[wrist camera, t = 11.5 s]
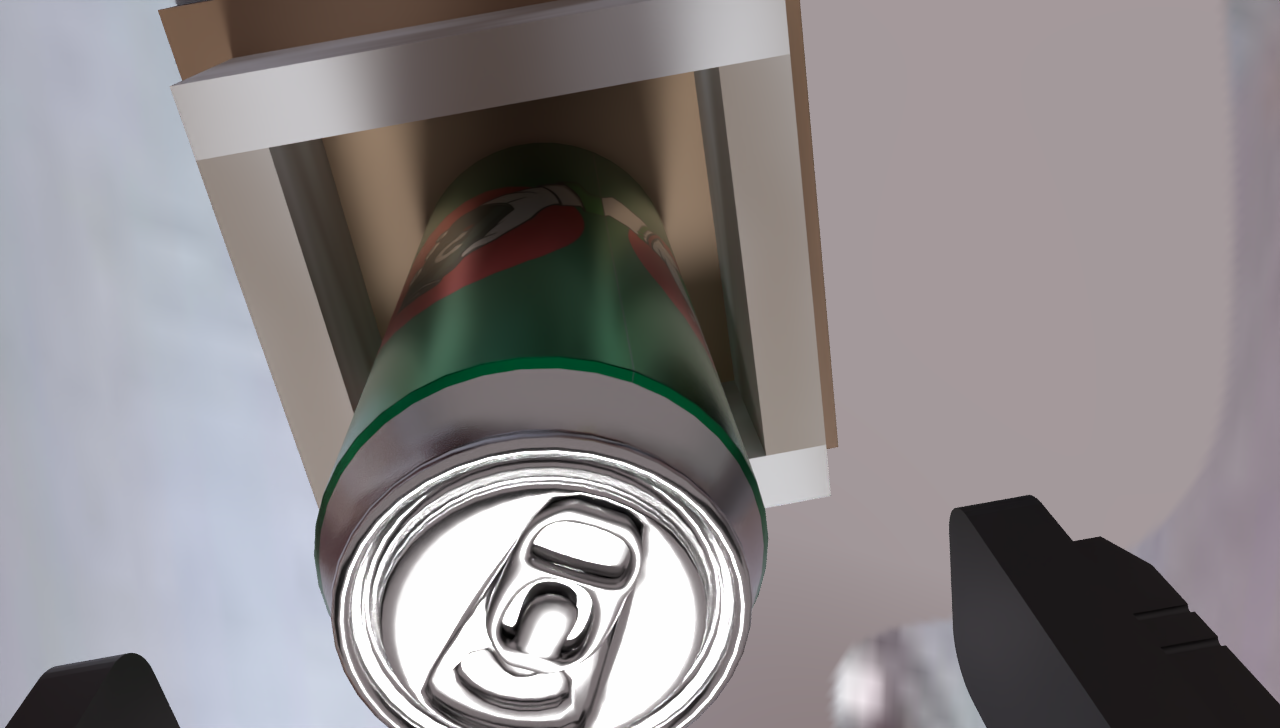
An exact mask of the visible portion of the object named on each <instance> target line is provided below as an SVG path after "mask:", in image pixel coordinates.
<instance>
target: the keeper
mask: <svg viewBox="0 0 1280 728" xmlns="http://www.w3.org/2000/svg"><path fill="white" fill-rule="evenodd" d="M158 12H159V15H160V18H161V21H162V23H163V26H164V29H165V32H166V35H167V38H168V41H169V44H170V47H171V49H172V52H173V55H174V58H175V61H176V64H177V67H178V70H179V72H180V75H181V78H182V81H181V82H178V83H176V84H174V85H172V86H170V88H171V91H172V94H173V97H174V100H175V103H176V105H177V108H178V111H179V114H180V117H181V120H182V122H183V125H184V128H185V131H186V134H187V137H188V139H189V142H190V145H191V148H192V151H193V154H194V156H195V159H196V162H197V165H198V168H199V171H200V173H201V176H202V179H203V182H204V185H205V188H206V190H207V193H208V196H209V199H210V202H211V205H212V207H213V210H214V213H215V216H216V219H217V222H218V224H219V227H220V230H221V233H222V236H223V239H224V241H225V244H226V247H227V250H228V253H229V256H230V258H231V261H232V264H233V267H234V270H235V273H236V275H237V278H238V281H239V284H240V287H241V290H242V292H243V295H244V298H245V301H246V304H247V307H248V309H249V312H250V315H251V318H252V321H253V324H254V326H255V329H256V332H257V335H258V338H259V341H260V343H261V346H262V349H263V352H264V355H265V358H266V360H267V363H268V366H269V369H270V372H271V375H272V377H273V380H274V383H275V386H276V389H277V392H278V394H279V397H280V400H281V403H282V406H283V409H284V411H285V414H286V417H287V420H288V423H289V426H290V428H291V431H292V434H293V437H294V440H295V443H296V445H297V448H298V451H299V454H300V457H301V460H302V462H303V465H304V468H305V471H306V474H307V477H308V479H309V482H310V485H311V488H312V491H313V494H314V496H315V499H316V502H317V505H318V508H319V509H320V505H321V501H322V497H323V493H324V491H325V488H326V485H327V483H328V480H329V478H330V475H331V472H332V470H333V467H334V465H335V462H336V460H337V457H338V454H339V452H340V449H341V447H342V444H343V441H344V439H345V436H346V434H347V431H348V428H349V426H350V423H351V421H352V418H353V416H354V413H355V410H356V408H357V405H358V403H359V400H360V397H361V395H362V392H363V390H364V387H365V385H366V382H367V379H368V377H369V374H370V372H371V369H372V366H373V364H374V361H375V359H376V356H377V353H378V351H379V348H380V346H381V343H382V341H383V338H384V335H385V333H386V330H387V328H388V325H389V322H390V320H391V317H392V315H393V312H394V309H395V307H396V304H397V302H398V299H399V297H400V294H401V291H402V289H403V286H404V284H405V281H406V278H407V276H408V273H409V271H410V268H411V265H412V263H413V260H414V258H415V255H416V253H417V250H418V247H419V245H420V242H421V240H422V237H423V234H424V232H425V229H426V227H427V224H428V222H429V219H430V217H431V215H432V213H433V210H434V208H435V206H436V204H437V202H438V201H439V199H440V198H441V196H442V195H443V193H444V192H445V190H446V189H447V187H448V186H449V185H450V184H451V183H452V182H453V181H454V180H455V179H456V178H457V177H458V176H459V175H460V174H461V173H462V172H463V171H465V170H466V169H467V168H469V167H470V166H471V165H473V164H474V163H475V162H477V161H479V160H481V159H483V158H485V157H486V156H488V155H490V154H492V153H494V152H497V151H500V150H503V149H506V148H509V147H512V146H517V145H523V144H529V143H559V144H566V145H572V146H576V147H580V148H583V149H586V150H589V151H592V152H595V153H596V154H598V155H600V156H602V157H604V158H606V159H608V160H610V161H612V162H613V163H615V164H616V165H618V166H619V167H620V168H622V169H623V170H625V171H626V172H627V173H628V174H629V175H630V176H631V177H632V178H633V179H634V180H635V181H636V182H637V183H638V184H639V185H640V186H641V187H642V188H643V190H644V191H645V192H646V194H647V195H648V197H649V198H650V199H651V201H652V202H653V204H654V206H655V208H656V210H657V212H658V214H659V216H660V218H661V221H662V224H663V226H664V229H665V232H666V234H667V237H668V240H669V243H670V245H671V248H672V251H673V254H674V256H675V259H676V262H677V265H678V267H679V270H680V273H681V275H682V278H683V281H684V284H685V286H686V289H687V292H688V295H689V297H690V300H691V303H692V305H693V308H694V311H695V314H696V316H697V319H698V322H699V325H700V327H701V330H702V333H703V336H704V338H705V341H706V344H707V346H708V349H709V352H710V355H711V357H712V360H713V363H714V366H715V368H716V371H717V374H718V376H719V379H720V382H721V385H722V387H723V390H724V393H725V396H726V398H727V401H728V404H729V407H730V409H731V412H732V415H733V417H734V420H735V423H736V426H737V428H738V431H739V434H740V437H741V439H742V442H743V445H744V448H745V450H746V453H747V456H748V458H749V461H750V464H751V467H752V469H753V472H754V475H755V478H756V480H757V484H758V487H759V490H760V494H761V497H762V500H763V503H764V507H765V508H769V507H774V506H779V505H784V504H790V503H795V502H800V501H806V500H811V499H817V498H822V497H827V496H831V493H830V482H829V471H828V460H827V450H826V449H830V448H835V447H838V438H837V427H836V415H835V404H834V392H833V381H832V369H831V357H830V346H829V335H828V322H827V311H826V299H825V287H824V276H823V265H822V252H821V241H820V229H819V218H818V208H817V207H818V206H817V196H816V195H817V194H816V183H815V172H814V160H813V148H812V136H811V125H810V113H809V102H808V90H807V79H806V67H805V55H804V44H803V32H802V22H801V9H800V0H207V1H202V2H196V3H190V4H185V5H179V6H174V7H170V8H166V9H161V10H158Z"/></svg>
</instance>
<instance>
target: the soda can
mask: <svg viewBox="0 0 1280 728" xmlns="http://www.w3.org/2000/svg"><path fill="white" fill-rule="evenodd" d="M767 547H768V531H767V522H766V513H765V507H764V503H763V500H762V497H761V494H760V490H759V487H758V484H757V480H756V478H755V475H754V472H753V469H752V467H751V464H750V461H749V458H748V456H747V453H746V450H745V448H744V445H743V442H742V439H741V437H740V434H739V431H738V428H737V426H736V423H735V420H734V417H733V415H732V412H731V409H730V407H729V404H728V401H727V398H726V396H725V393H724V390H723V387H722V385H721V382H720V379H719V376H718V374H717V371H716V368H715V366H714V363H713V360H712V357H711V355H710V352H709V349H708V346H707V344H706V341H705V338H704V336H703V333H702V330H701V327H700V325H699V322H698V319H697V316H696V314H695V311H694V308H693V305H692V303H691V300H690V297H689V295H688V292H687V289H686V286H685V284H684V281H683V278H682V275H681V273H680V270H679V267H678V265H677V262H676V259H675V256H674V254H673V251H672V248H671V245H670V243H669V240H668V237H667V234H666V232H665V229H664V226H663V224H662V221H661V218H660V216H659V214H658V212H657V210H656V208H655V206H654V204H653V202H652V201H651V199H650V198H649V197H648V195H647V194H646V192H645V191H644V190H643V188H642V187H641V186H640V185H639V184H638V183H637V182H636V181H635V180H634V179H633V178H632V177H631V176H630V175H629V174H628V173H627V172H626V171H625V170H623V169H622V168H620V167H619V166H618V165H616V164H615V163H613V162H612V161H610V160H608V159H606V158H604V157H602V156H600V155H598V154H596V153H595V152H592V151H589V150H586V149H583V148H580V147H576V146H572V145H566V144H559V143H529V144H523V145H517V146H512V147H509V148H506V149H503V150H500V151H497V152H494V153H492V154H490V155H488V156H486V157H485V158H483V159H481V160H479V161H477V162H475V163H474V164H473V165H471V166H470V167H469V168H467V169H466V170H465V171H463V172H462V173H461V174H460V175H459V176H458V177H457V178H456V179H455V180H454V181H453V182H452V183H451V184H450V185H449V186H448V187H447V189H446V190H445V192H444V193H443V195H442V196H441V198H440V199H439V201H438V202H437V204H436V206H435V208H434V210H433V213H432V215H431V217H430V219H429V222H428V224H427V227H426V229H425V232H424V234H423V237H422V240H421V242H420V245H419V247H418V250H417V253H416V255H415V258H414V260H413V263H412V265H411V268H410V271H409V273H408V276H407V278H406V281H405V284H404V286H403V289H402V291H401V294H400V297H399V299H398V302H397V304H396V307H395V309H394V312H393V315H392V317H391V320H390V322H389V325H388V328H387V330H386V333H385V335H384V338H383V341H382V343H381V346H380V348H379V351H378V353H377V356H376V359H375V361H374V364H373V366H372V369H371V372H370V374H369V377H368V379H367V382H366V385H365V387H364V390H363V392H362V395H361V397H360V400H359V403H358V405H357V408H356V410H355V413H354V416H353V418H352V421H351V423H350V426H349V428H348V431H347V434H346V436H345V439H344V441H343V444H342V447H341V449H340V452H339V454H338V457H337V460H336V462H335V465H334V467H333V470H332V472H331V475H330V478H329V480H328V483H327V485H326V488H325V491H324V493H323V497H322V501H321V505H320V509H319V513H318V517H317V521H316V528H315V549H314V557H315V564H316V571H317V578H318V584H319V588H320V590H321V593H322V596H323V599H324V602H325V605H326V608H327V611H328V613H329V615H330V617H331V621H332V628H333V635H334V642H335V647H336V650H337V653H338V656H339V659H340V662H341V664H342V667H343V670H344V672H345V674H346V676H347V678H348V679H349V681H350V683H351V684H352V686H353V688H354V690H355V691H356V693H357V695H358V696H359V697H360V698H361V700H362V701H363V702H364V703H365V704H366V706H367V707H368V708H369V709H370V710H371V712H372V713H373V714H374V715H375V716H376V717H377V718H378V719H379V720H380V721H382V722H383V723H384V724H385V725H386V726H387V727H389V728H686V727H688V726H689V725H690V724H692V723H693V722H694V721H695V720H697V719H698V718H699V717H700V716H701V714H703V713H704V712H705V710H706V709H707V708H708V707H709V706H710V705H711V704H712V703H713V702H714V701H715V700H716V699H717V698H718V696H719V695H720V693H721V692H722V690H723V689H724V688H725V686H726V684H727V683H728V682H729V680H730V679H731V677H732V676H733V673H734V671H735V669H736V667H737V665H738V662H739V660H740V659H741V657H742V654H743V652H744V648H745V645H746V641H747V637H748V633H749V630H750V625H751V615H752V608H753V606H754V604H755V602H756V599H757V597H758V595H759V591H760V587H761V584H762V580H763V576H764V573H765V569H766V560H767Z"/></svg>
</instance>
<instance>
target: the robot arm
mask: <svg viewBox="0 0 1280 728" xmlns="http://www.w3.org/2000/svg"><path fill="white" fill-rule="evenodd" d="M949 537H950V562H951V587H952V612H953V633H954V642H955V648H956V653H957V658H958V662H959V666H960V669H961V673H962V676H963V679H964V682H965V685H966V687H967V690H968V692H969V694H970V697H971V699H972V701H973V703H974V705H975V706H976V708H977V710H978V712H979V714H980V716H981V718H982V720H983V722H984V724H985V725H986V727H987V728H1280V704H1279V703H1278V702H1277V701H1276V700H1275V699H1274V698H1273V696H1272V695H1271V694H1270V693H1269V692H1268V691H1267V690H1266V689H1265V688H1264V687H1263V686H1262V684H1261V683H1260V682H1259V681H1258V680H1257V679H1256V678H1255V677H1254V676H1253V675H1252V674H1251V672H1250V671H1249V670H1248V669H1247V668H1246V667H1245V666H1244V665H1243V664H1242V663H1241V662H1240V660H1239V659H1238V658H1237V657H1236V656H1235V655H1234V654H1233V653H1232V652H1231V651H1230V650H1229V648H1228V647H1227V646H1226V645H1225V646H1221V645H1220V644H1219V641H1218V636H1217V635H1216V634H1215V633H1214V632H1213V631H1212V630H1211V629H1210V628H1209V627H1208V626H1207V624H1206V623H1205V622H1204V621H1203V620H1202V619H1201V618H1200V617H1199V616H1198V615H1197V614H1196V612H1190V611H1189V609H1188V604H1187V603H1186V602H1185V600H1184V599H1183V598H1182V597H1181V596H1180V595H1179V594H1178V593H1177V592H1176V591H1175V590H1174V588H1173V587H1172V586H1171V585H1170V584H1169V583H1168V582H1167V581H1166V580H1165V579H1164V578H1163V576H1162V575H1161V574H1160V573H1159V572H1158V571H1157V570H1156V569H1155V568H1154V567H1153V566H1152V565H1151V564H1149V563H1147V562H1146V561H1144V560H1142V559H1140V558H1138V557H1137V556H1135V555H1133V554H1131V553H1129V552H1128V551H1126V550H1124V549H1122V548H1120V547H1118V546H1117V545H1115V544H1113V543H1111V542H1110V541H1108V540H1106V539H1104V538H1102V537H1095V538H1089V539H1083V540H1078V541H1072V540H1071V538H1070V537H1069V536H1068V535H1067V534H1066V532H1065V531H1064V530H1063V529H1062V527H1061V526H1060V525H1059V524H1058V523H1057V521H1056V520H1055V519H1054V518H1053V517H1052V515H1051V514H1050V513H1049V512H1048V510H1047V509H1046V508H1045V507H1044V506H1043V505H1042V503H1041V502H1040V501H1039V500H1038V499H1037V498H1035V497H1034V496H1032V495H1026V496H1021V497H1015V498H1010V499H1004V500H998V501H993V502H987V503H982V504H976V505H970V506H965V507H959V508H954V509H953V510H952V512H951V515H950V522H949ZM5 728H180V727H179V725H178V722H177V720H176V718H175V716H174V714H173V712H172V710H171V708H170V706H169V703H168V701H167V699H166V697H165V695H164V693H163V691H162V689H161V687H160V684H159V682H158V680H157V678H156V676H155V674H154V672H153V670H152V668H151V666H150V665H149V663H148V662H147V661H146V660H145V659H144V658H143V657H142V656H140V655H138V654H135V653H128V654H122V655H117V656H111V657H105V658H100V659H94V660H89V661H83V662H77V663H72V664H66V665H61V666H55V667H53V668H51V669H49V670H47V671H46V672H45V673H44V674H43V675H42V676H41V677H40V679H39V680H38V681H37V683H36V684H35V685H34V687H33V688H32V690H31V691H30V693H29V694H28V696H27V697H26V698H25V700H24V701H23V703H22V704H21V706H20V707H19V708H18V710H17V711H16V713H15V714H14V716H13V717H12V718H11V720H10V721H9V723H8V724H7V726H6V727H5Z"/></svg>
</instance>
